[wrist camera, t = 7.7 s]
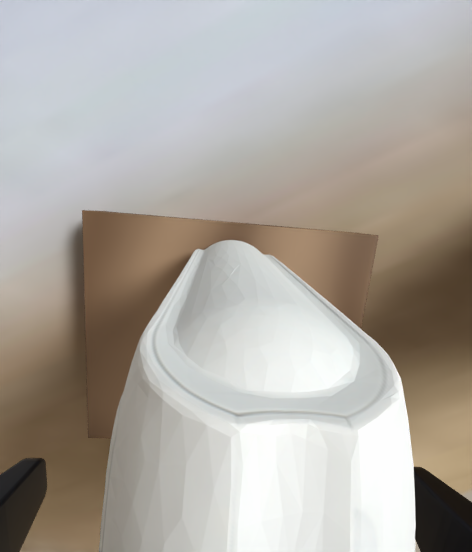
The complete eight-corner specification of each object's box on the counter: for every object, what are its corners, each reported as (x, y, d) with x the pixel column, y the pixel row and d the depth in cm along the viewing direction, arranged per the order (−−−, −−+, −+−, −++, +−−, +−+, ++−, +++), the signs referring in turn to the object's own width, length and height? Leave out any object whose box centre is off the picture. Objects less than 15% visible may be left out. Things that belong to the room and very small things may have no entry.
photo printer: (257, 427, 16) (381, 1131, 4) (179, 425, 15) (33, 1182, 3) (279, 242, 14) (741, 462, 2) (189, 235, 13) (-107, 436, 1)
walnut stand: (359, 233, 16) (378, 235, 14) (326, 420, 18) (339, 445, 16) (100, 210, 15) (82, 210, 13) (103, 412, 17) (88, 437, 15)
